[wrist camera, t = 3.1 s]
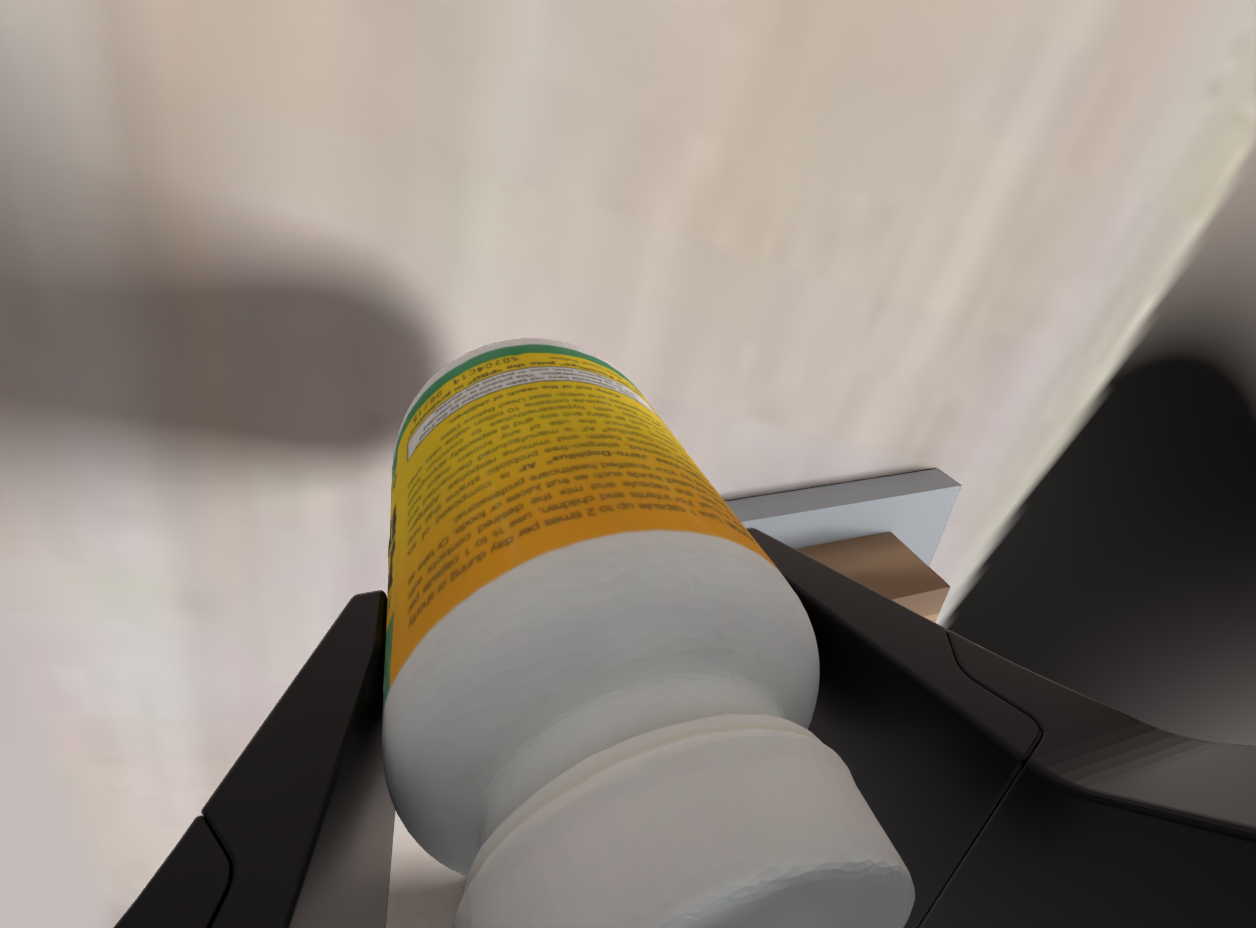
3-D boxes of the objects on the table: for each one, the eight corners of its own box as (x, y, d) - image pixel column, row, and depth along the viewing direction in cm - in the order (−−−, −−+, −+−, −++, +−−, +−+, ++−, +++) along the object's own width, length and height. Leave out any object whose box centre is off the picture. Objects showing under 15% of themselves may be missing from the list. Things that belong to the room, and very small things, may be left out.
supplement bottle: (674, 485, 14) (986, 943, 7) (473, 586, 14) (558, 1186, 6) (592, 280, 11) (1004, 702, 4) (331, 405, 11) (163, 1157, 3)
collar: (836, 688, 27) (880, 749, 24) (649, 738, 24) (676, 810, 22) (890, 531, 22) (950, 586, 20) (665, 572, 20) (702, 641, 17)
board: (861, 678, 29) (876, 698, 28) (579, 751, 25) (586, 778, 24) (938, 468, 23) (961, 485, 22) (579, 524, 19) (588, 547, 18)
